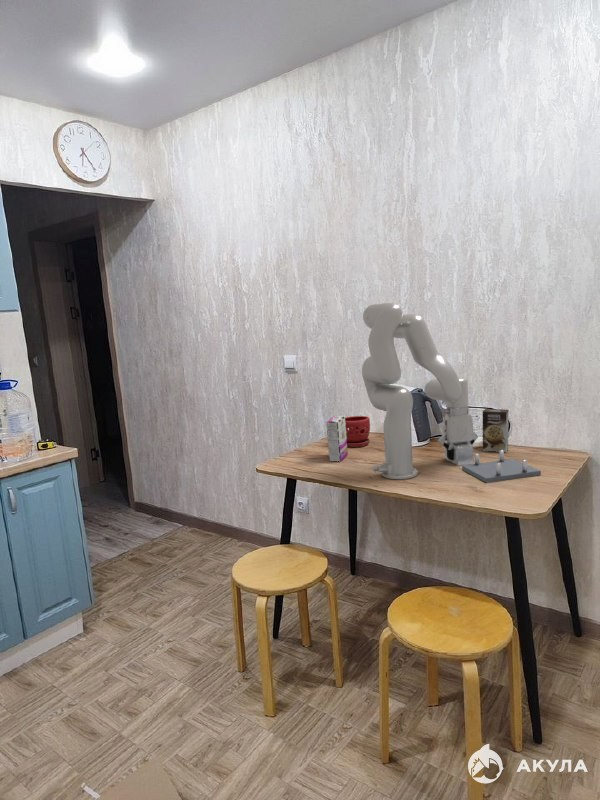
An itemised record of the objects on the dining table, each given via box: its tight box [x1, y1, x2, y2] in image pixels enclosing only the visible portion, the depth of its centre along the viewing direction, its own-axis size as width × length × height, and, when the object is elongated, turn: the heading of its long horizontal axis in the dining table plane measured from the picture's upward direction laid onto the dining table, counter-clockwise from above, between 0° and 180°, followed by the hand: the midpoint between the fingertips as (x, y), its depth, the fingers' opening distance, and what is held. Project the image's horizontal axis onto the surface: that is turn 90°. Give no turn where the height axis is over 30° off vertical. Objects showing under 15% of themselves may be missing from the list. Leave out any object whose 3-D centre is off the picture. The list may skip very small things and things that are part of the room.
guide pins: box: [474, 450, 528, 476], centre depth 187 cm, size 11×15×4 cm
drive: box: [444, 440, 474, 467], centre depth 204 cm, size 6×10×7 cm, turn 12°
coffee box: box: [482, 408, 510, 453], centre depth 214 cm, size 9×6×16 cm
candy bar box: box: [326, 415, 349, 463], centre depth 219 cm, size 11×5×16 cm, turn 160°
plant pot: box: [345, 415, 371, 448], centre depth 239 cm, size 13×13×12 cm
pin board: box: [461, 458, 542, 484], centre depth 188 cm, size 20×16×2 cm
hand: (458, 457), depth 204 cm, fingers closed on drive, 6 cm apart
